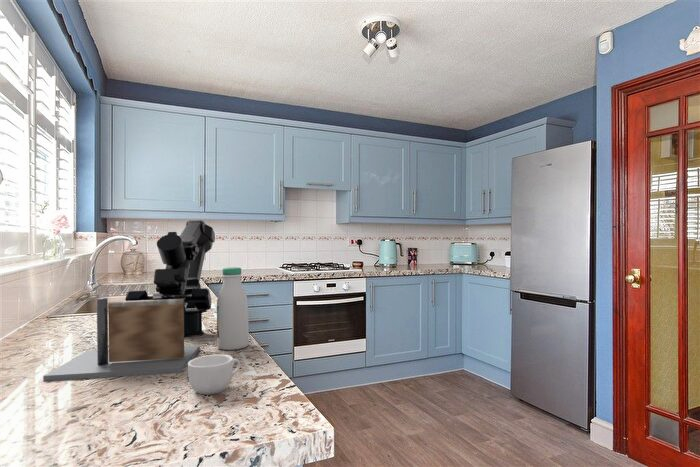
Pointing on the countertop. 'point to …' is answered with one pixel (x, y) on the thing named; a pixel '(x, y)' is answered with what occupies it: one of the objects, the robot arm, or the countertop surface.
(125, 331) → the panel
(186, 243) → the robot arm
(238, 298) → the milk bottle
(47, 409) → the countertop surface
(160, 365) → the board
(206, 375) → the teacup
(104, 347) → the hinge post
